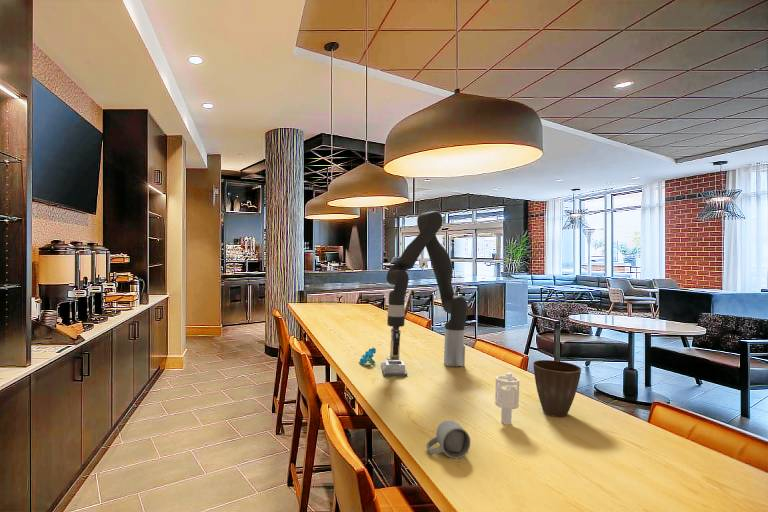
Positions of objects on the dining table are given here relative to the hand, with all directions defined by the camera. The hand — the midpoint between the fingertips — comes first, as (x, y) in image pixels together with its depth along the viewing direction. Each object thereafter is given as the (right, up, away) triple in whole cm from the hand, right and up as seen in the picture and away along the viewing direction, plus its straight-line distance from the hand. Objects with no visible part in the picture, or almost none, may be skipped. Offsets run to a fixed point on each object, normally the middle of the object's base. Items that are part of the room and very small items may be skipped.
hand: (394, 353), depth 181 cm
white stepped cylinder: (+34, -10, -51) cm, 62 cm away
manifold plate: (0, -9, +4) cm, 10 cm away
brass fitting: (0, -2, 0) cm, 2 cm away
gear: (-12, -9, +14) cm, 21 cm away
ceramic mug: (+12, -9, -72) cm, 74 cm away
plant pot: (+53, -10, -42) cm, 68 cm away
